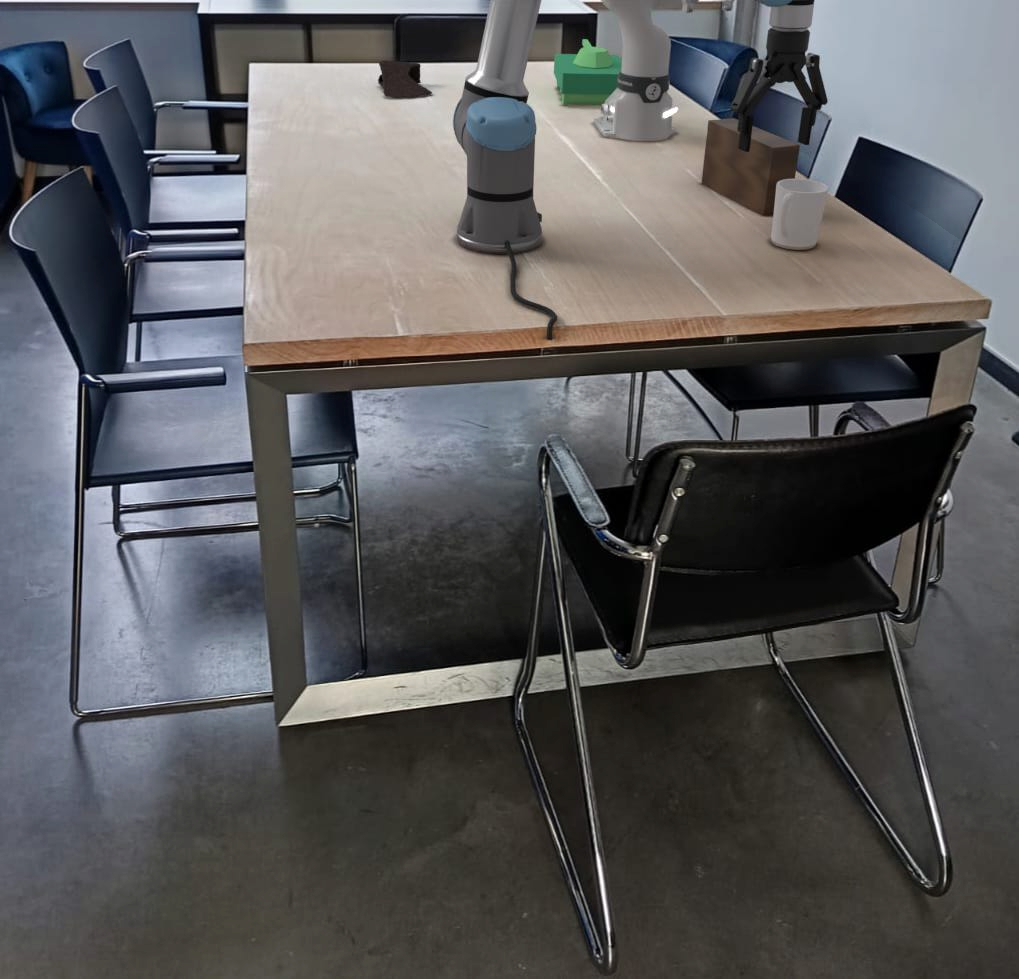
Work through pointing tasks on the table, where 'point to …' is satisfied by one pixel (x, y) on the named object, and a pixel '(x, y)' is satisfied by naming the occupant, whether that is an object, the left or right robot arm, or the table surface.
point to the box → (747, 165)
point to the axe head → (401, 79)
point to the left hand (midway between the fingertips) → (773, 147)
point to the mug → (798, 213)
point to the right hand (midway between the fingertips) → (707, 11)
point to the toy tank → (587, 75)
